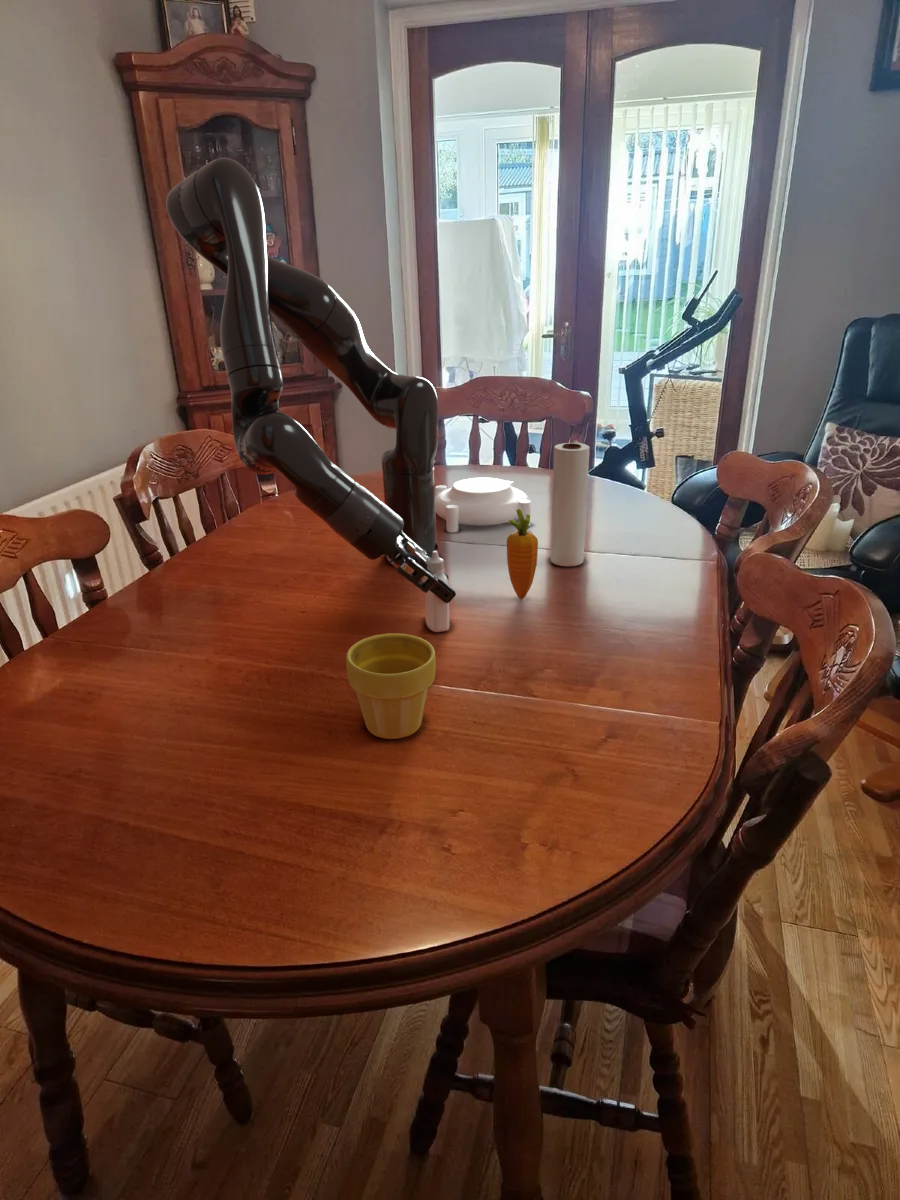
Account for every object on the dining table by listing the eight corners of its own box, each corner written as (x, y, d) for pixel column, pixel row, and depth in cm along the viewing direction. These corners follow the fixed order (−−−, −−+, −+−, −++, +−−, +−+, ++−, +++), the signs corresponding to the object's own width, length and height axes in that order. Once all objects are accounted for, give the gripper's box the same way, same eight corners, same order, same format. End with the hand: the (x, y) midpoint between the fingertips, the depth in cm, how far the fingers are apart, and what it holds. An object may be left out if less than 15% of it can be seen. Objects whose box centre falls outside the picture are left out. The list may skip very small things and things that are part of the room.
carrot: (535, 606, 121) (537, 516, 114) (504, 604, 122) (504, 515, 115) (538, 594, 125) (540, 507, 119) (508, 592, 126) (508, 506, 120)
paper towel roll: (568, 570, 134) (574, 451, 125) (543, 561, 138) (546, 445, 130) (594, 559, 139) (601, 444, 130) (569, 551, 143) (574, 438, 134)
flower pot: (449, 708, 94) (447, 638, 90) (419, 755, 85) (415, 680, 81) (373, 695, 97) (368, 627, 93) (336, 740, 88) (329, 667, 84)
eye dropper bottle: (418, 631, 113) (415, 557, 108) (428, 616, 118) (425, 544, 113) (446, 634, 112) (444, 559, 107) (455, 618, 117) (454, 545, 112)
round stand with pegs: (467, 495, 179) (466, 465, 176) (557, 511, 166) (558, 479, 163) (403, 522, 161) (402, 490, 158) (498, 542, 148) (498, 507, 145)
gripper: (343, 523, 114) (424, 589, 120) (348, 557, 101) (438, 628, 107) (376, 487, 112) (456, 555, 119) (385, 516, 99) (475, 590, 106)
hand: (447, 589), depth 113 cm, fingers closed on eye dropper bottle, 5 cm apart
